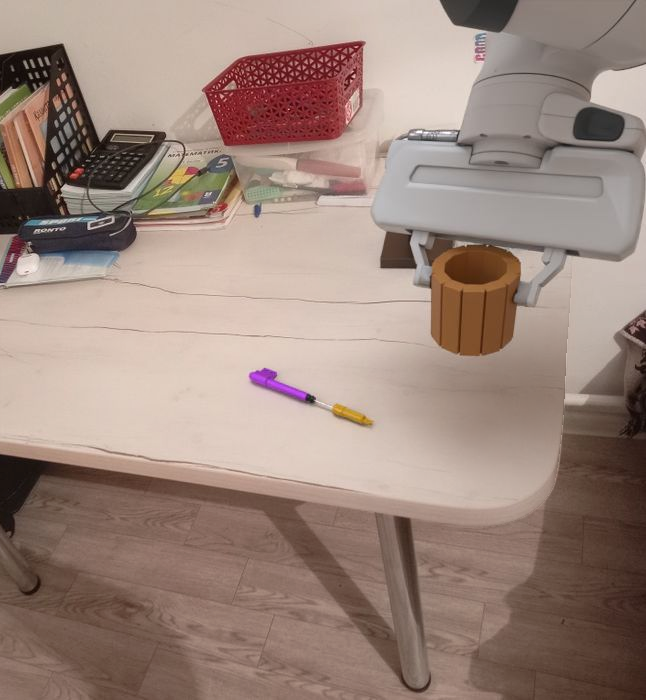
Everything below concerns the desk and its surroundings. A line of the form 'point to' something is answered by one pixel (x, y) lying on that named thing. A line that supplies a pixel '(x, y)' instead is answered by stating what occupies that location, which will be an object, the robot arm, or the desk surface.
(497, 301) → the wooden hollow cylinder
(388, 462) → the desk surface
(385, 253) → the stand
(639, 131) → the robot arm
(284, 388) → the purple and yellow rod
